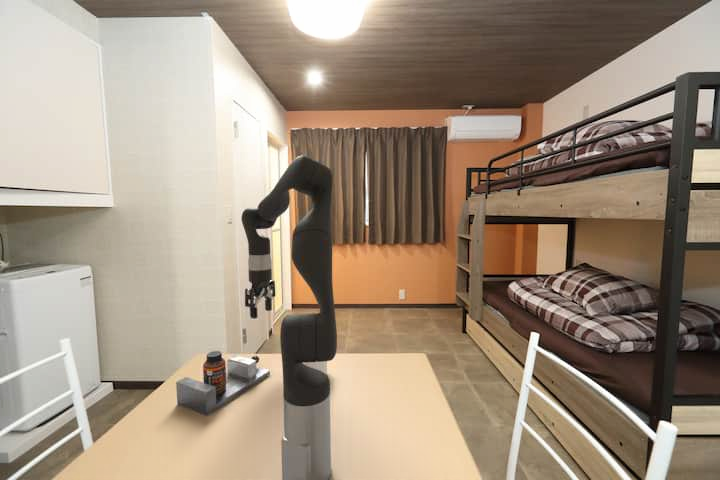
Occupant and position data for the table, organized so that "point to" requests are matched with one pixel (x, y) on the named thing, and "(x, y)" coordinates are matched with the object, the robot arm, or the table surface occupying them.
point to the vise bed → (213, 391)
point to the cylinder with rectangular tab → (318, 366)
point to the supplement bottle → (215, 371)
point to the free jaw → (242, 366)
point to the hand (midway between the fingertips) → (261, 314)
